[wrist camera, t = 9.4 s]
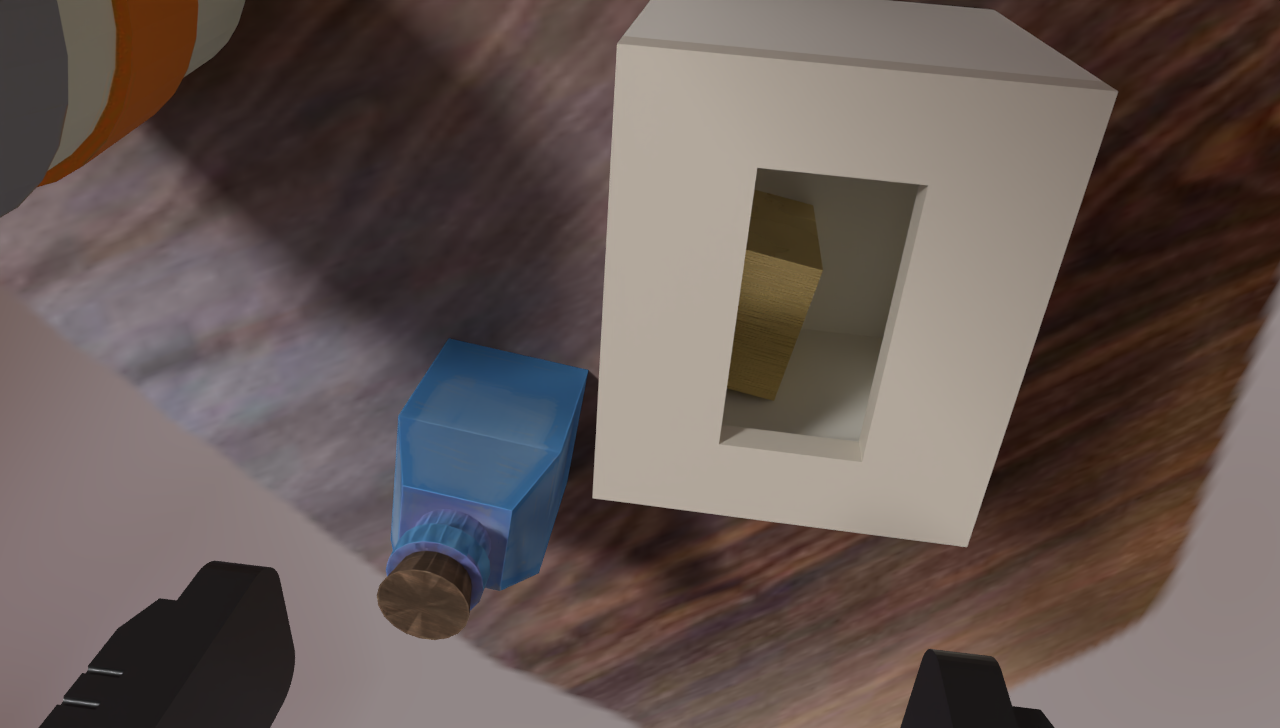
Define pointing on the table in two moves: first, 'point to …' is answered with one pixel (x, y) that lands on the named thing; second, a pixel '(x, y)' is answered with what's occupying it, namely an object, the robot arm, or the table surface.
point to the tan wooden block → (773, 292)
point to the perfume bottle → (476, 482)
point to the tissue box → (834, 254)
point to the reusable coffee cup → (92, 77)
